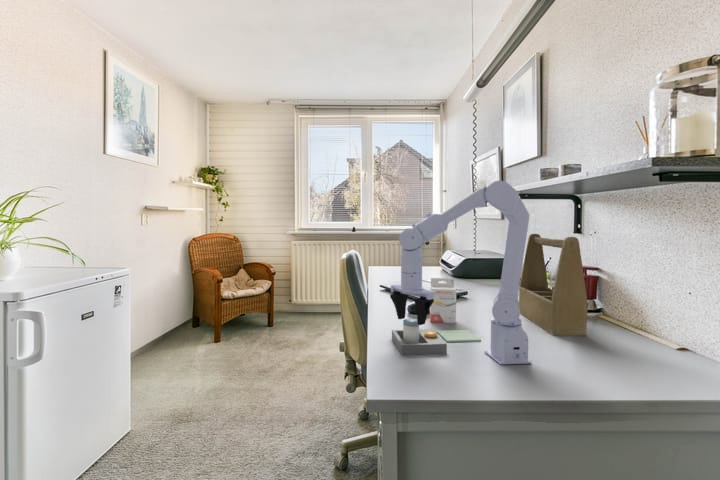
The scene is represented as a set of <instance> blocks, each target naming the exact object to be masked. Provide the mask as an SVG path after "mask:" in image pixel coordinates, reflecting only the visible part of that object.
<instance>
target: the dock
mask: <svg viewBox="0 0 720 480" xmlns="http://www.w3.org/2000/svg"><path fill="white" fill-rule="evenodd" d="M425 332H435V330H433V329H432V328H425V329H423V328H422V329H421V328H419V343H418V344H404V343H403V329H392V330H391V340H392V341H393V343H394V344H395V346H396V348H397V350H398V352H399V354H400V355H402V356H403V355H405V356H407V355H408V356H409V355H430V354H431V355H434V354H435V355H436V354H437V355H438V354H447V352H448V350H447V346H448V345H447V342H446V341H445V340H444V339H443V338H442V337H441V336H440V335H439V334H437V338H426V337H425V336H424V333H425Z"/></svg>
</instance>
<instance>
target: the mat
mask: <svg viewBox="0 0 720 480" xmlns="http://www.w3.org/2000/svg"><path fill="white" fill-rule="evenodd" d="M436 333H437V335H438V336H439V337H440V338H441V339H442V340H443V341H444V342H445V343H460V342H461V343H462V342H463V343H465V342H466V343H467V342H482V339H481V338H480V337H478V336H477V335H475V334H474V333H473V332H471V331H470V330H469V329H455V330H454V329H448V330H445V329H444V330H436Z"/></svg>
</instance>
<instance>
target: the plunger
mask: <svg viewBox="0 0 720 480" xmlns="http://www.w3.org/2000/svg"><path fill="white" fill-rule="evenodd" d="M437 335H438V333H437V331H434V332H425V333H424V336H425V337H426V338H437Z"/></svg>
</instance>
